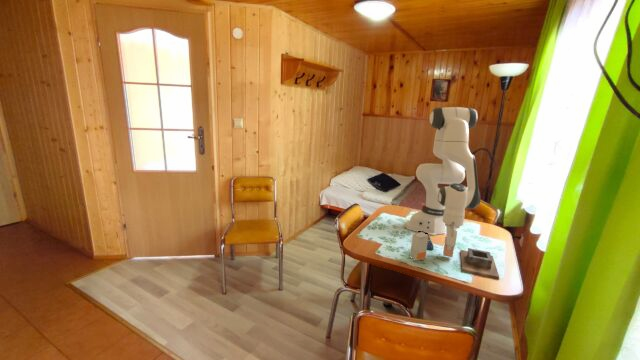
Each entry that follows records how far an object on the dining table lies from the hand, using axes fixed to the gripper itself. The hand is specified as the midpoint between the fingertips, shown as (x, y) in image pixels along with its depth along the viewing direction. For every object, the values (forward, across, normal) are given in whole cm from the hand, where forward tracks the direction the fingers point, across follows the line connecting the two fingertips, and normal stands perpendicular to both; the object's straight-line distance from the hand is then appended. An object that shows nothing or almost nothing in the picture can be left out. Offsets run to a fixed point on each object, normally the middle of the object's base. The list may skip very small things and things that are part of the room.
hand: (448, 246), depth 140 cm
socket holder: (+6, 0, -13) cm, 14 cm away
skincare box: (+6, -6, +13) cm, 16 cm away
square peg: (+4, 0, 0) cm, 4 cm away
